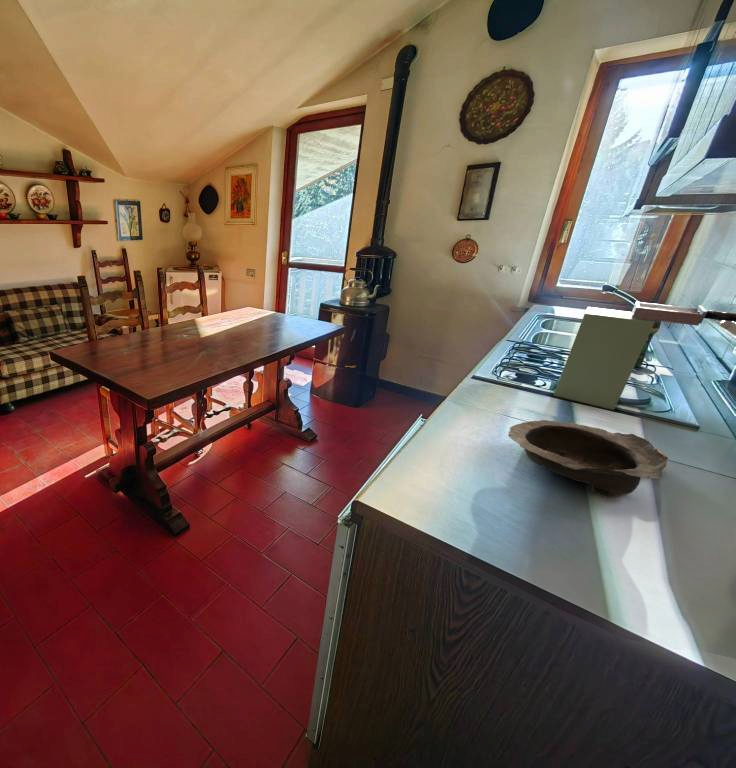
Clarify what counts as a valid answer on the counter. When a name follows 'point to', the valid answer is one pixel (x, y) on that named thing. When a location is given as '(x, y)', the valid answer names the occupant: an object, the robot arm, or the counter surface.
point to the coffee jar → (647, 343)
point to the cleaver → (678, 313)
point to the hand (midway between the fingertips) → (717, 319)
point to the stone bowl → (590, 454)
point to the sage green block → (603, 357)
